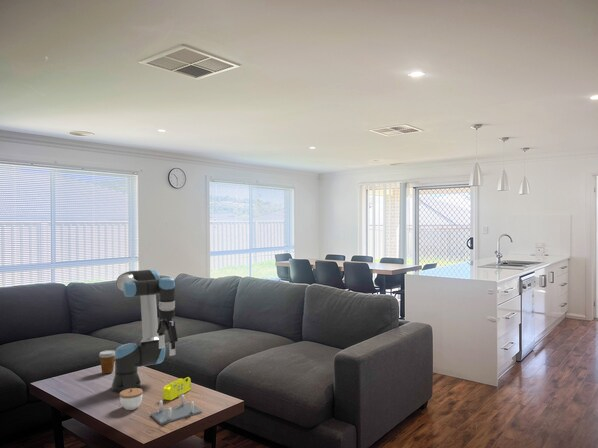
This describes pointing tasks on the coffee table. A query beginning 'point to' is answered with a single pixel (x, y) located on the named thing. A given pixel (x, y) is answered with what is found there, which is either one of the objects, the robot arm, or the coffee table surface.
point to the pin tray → (175, 412)
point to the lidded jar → (131, 398)
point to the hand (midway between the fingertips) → (166, 351)
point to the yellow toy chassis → (176, 388)
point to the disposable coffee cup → (107, 360)
